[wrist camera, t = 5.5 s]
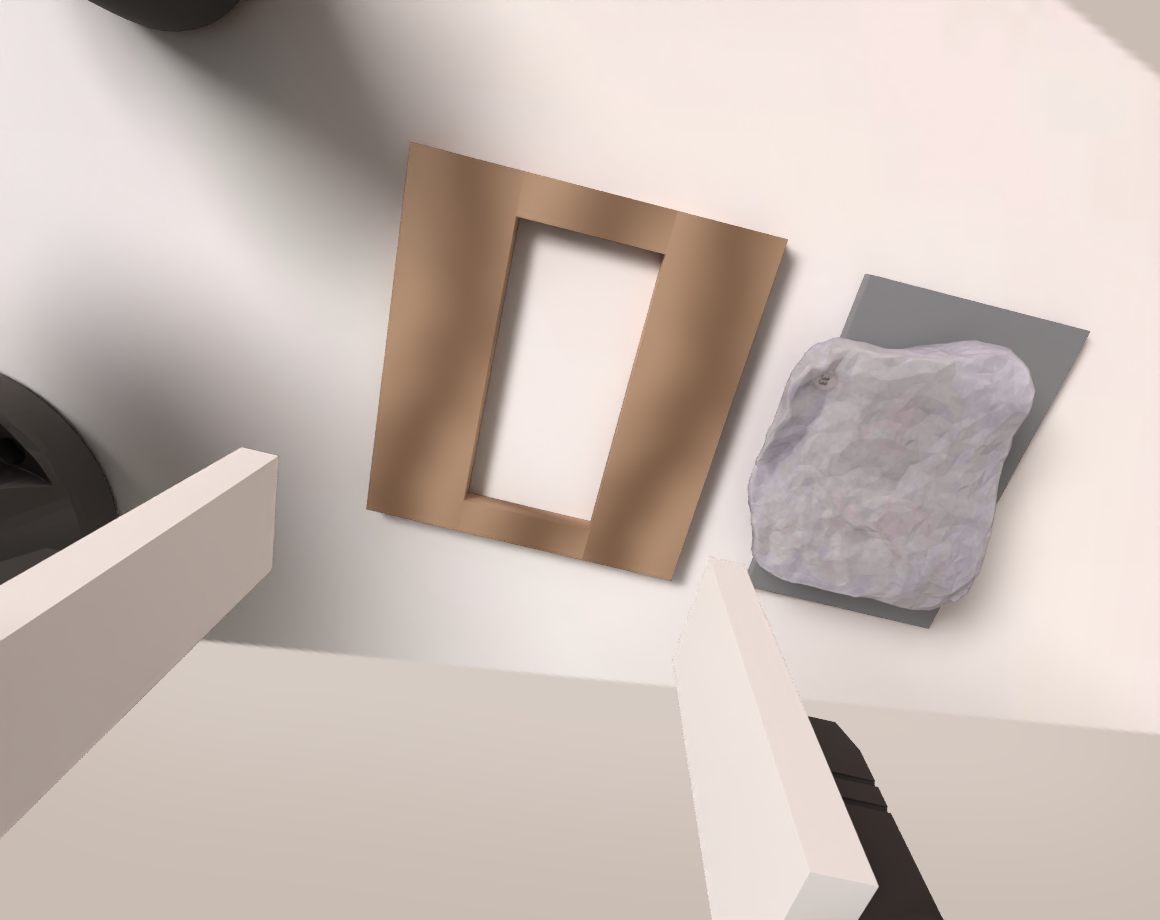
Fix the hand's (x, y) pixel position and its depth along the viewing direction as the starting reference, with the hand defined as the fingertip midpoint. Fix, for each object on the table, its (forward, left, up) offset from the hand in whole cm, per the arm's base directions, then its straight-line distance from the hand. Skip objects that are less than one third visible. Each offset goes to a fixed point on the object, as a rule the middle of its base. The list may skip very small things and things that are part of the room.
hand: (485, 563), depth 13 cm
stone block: (+15, 0, -16) cm, 22 cm away
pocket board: (0, 0, -17) cm, 17 cm away
